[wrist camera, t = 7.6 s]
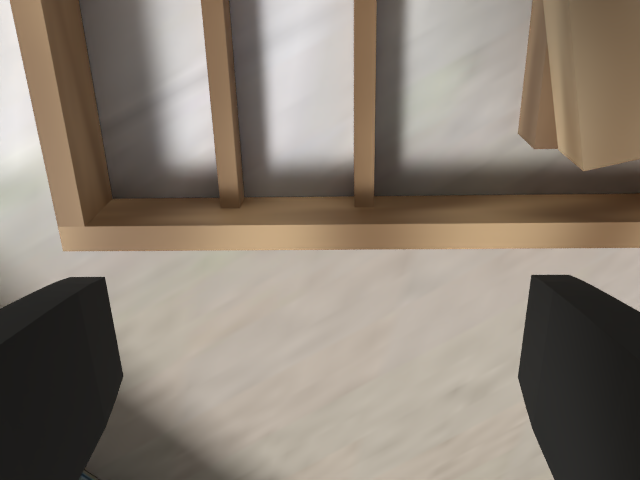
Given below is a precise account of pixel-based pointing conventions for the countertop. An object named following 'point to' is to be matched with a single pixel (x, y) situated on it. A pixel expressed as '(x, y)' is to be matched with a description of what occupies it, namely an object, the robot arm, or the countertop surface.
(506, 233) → the tray
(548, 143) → the offcut lower
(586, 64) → the offcut upper
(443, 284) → the countertop surface
